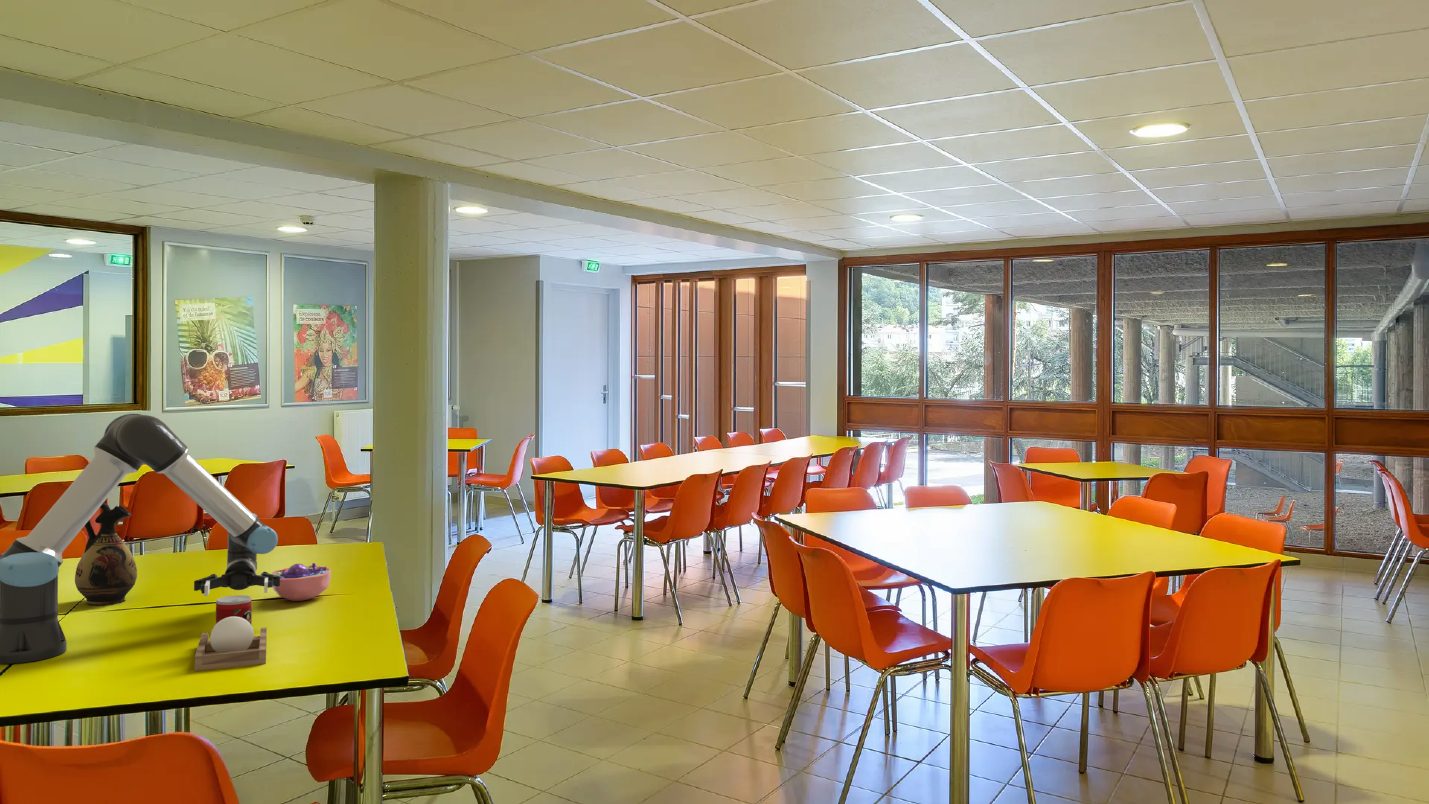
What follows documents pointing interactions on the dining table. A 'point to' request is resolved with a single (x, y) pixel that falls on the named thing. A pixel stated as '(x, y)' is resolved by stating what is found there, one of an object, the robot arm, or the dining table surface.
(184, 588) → the dining table surface
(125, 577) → the ceramic jug
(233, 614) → the canned food
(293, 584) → the cell model
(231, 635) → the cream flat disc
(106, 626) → the dining table surface
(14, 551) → the robot arm
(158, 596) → the dining table surface
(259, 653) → the walnut tray
